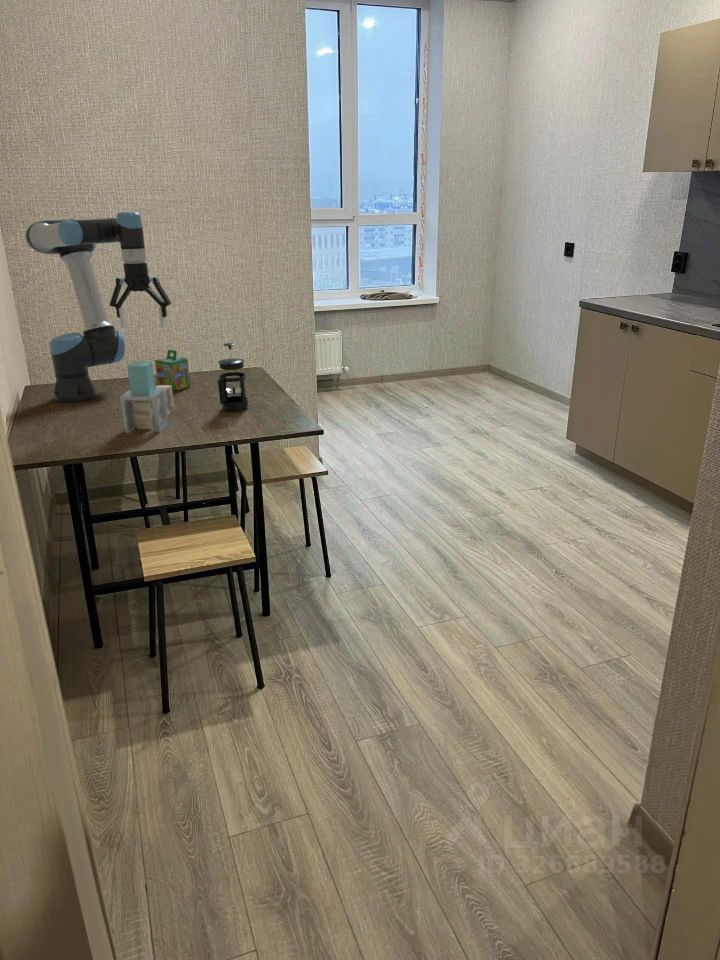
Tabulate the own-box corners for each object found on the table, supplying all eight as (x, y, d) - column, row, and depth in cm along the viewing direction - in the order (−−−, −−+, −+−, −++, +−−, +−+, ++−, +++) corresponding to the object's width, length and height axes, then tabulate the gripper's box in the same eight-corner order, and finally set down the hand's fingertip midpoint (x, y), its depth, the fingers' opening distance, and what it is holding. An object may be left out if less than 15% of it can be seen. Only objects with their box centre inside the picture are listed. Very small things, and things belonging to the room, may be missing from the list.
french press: (236, 402, 255) (230, 339, 246) (255, 406, 250) (250, 342, 241) (212, 410, 246) (206, 345, 237) (232, 414, 241) (226, 348, 232)
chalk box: (157, 389, 275) (152, 351, 269) (174, 384, 282) (170, 347, 276) (174, 392, 270) (169, 354, 264) (191, 386, 277) (187, 349, 272)
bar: (151, 429, 228) (148, 402, 224) (137, 429, 228) (133, 402, 225) (174, 410, 248) (171, 385, 244) (161, 410, 248) (157, 385, 245)
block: (131, 394, 222) (127, 366, 219) (137, 389, 228) (133, 361, 224) (149, 394, 222) (146, 366, 218) (155, 389, 227) (152, 361, 224)
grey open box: (159, 433, 224) (154, 396, 219) (125, 433, 224) (119, 396, 220) (168, 423, 233) (164, 388, 228) (136, 423, 233) (130, 388, 229)
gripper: (93, 263, 228) (103, 329, 236) (168, 262, 227) (176, 328, 235) (102, 261, 235) (111, 325, 243) (175, 260, 234) (182, 324, 242)
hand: (143, 327), depth 239 cm, fingers open, 13 cm apart
